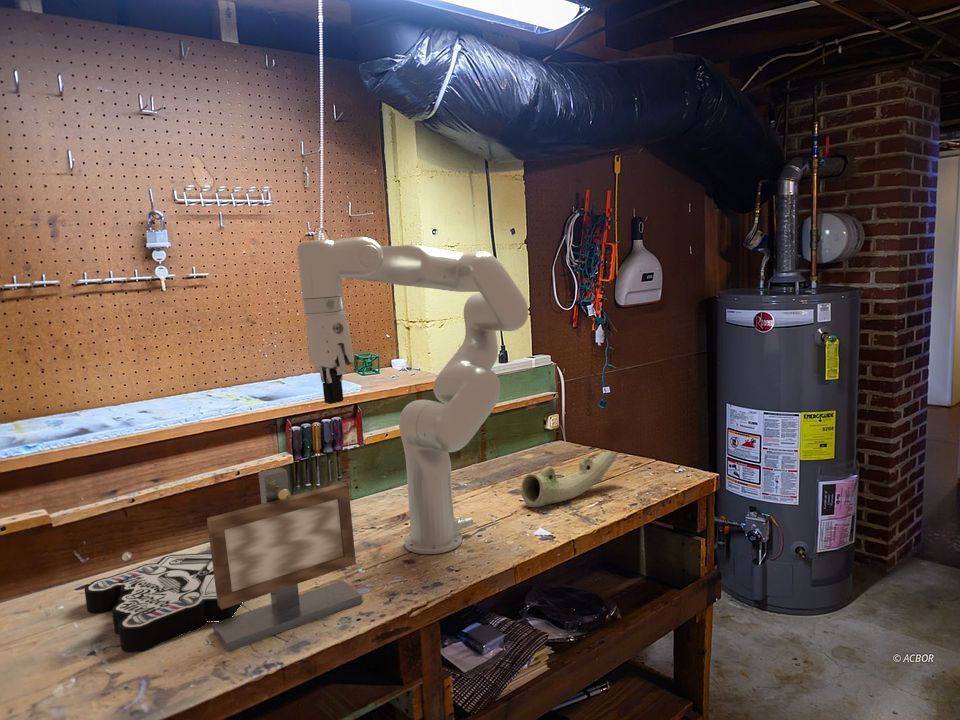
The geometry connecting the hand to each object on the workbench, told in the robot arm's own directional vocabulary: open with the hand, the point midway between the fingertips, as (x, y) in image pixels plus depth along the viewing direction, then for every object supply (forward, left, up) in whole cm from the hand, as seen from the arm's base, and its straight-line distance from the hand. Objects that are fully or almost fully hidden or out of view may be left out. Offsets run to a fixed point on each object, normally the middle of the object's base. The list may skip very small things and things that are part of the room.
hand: (334, 402), depth 131 cm
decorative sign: (+27, -11, -36) cm, 46 cm away
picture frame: (+15, +10, -28) cm, 34 cm away
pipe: (-63, -3, -35) cm, 72 cm away
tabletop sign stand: (+15, +9, -35) cm, 39 cm away
